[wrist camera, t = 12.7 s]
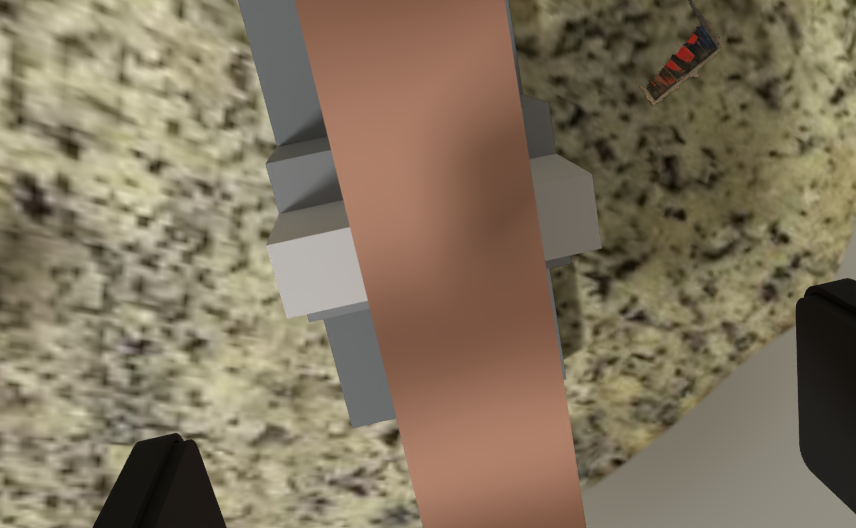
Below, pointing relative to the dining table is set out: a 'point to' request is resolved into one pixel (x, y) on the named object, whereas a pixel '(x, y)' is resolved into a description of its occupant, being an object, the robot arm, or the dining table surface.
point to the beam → (450, 252)
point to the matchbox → (685, 61)
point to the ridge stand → (327, 219)
